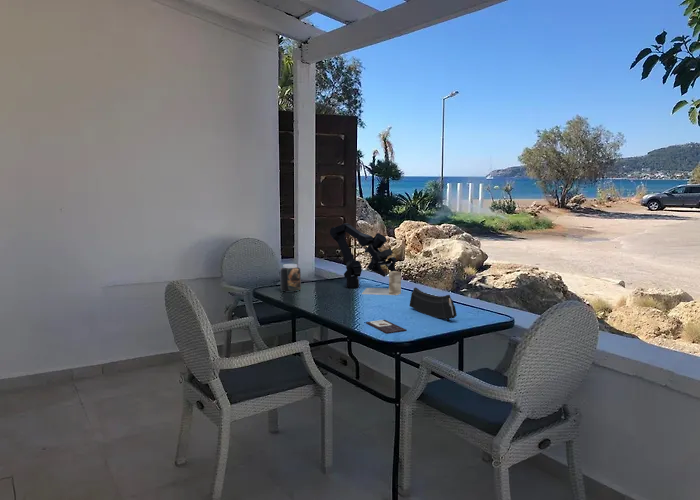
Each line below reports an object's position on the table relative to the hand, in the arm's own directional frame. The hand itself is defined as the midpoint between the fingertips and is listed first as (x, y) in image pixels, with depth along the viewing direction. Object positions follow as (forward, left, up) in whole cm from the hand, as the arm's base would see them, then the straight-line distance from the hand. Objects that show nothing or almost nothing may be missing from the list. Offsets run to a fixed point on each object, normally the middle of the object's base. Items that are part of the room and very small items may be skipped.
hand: (390, 275), depth 267 cm
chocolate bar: (+6, -68, -11) cm, 69 cm away
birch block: (+3, -2, -10) cm, 10 cm away
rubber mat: (-5, +5, -10) cm, 13 cm away
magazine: (+23, -45, -11) cm, 52 cm away
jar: (-57, +2, -11) cm, 59 cm away
